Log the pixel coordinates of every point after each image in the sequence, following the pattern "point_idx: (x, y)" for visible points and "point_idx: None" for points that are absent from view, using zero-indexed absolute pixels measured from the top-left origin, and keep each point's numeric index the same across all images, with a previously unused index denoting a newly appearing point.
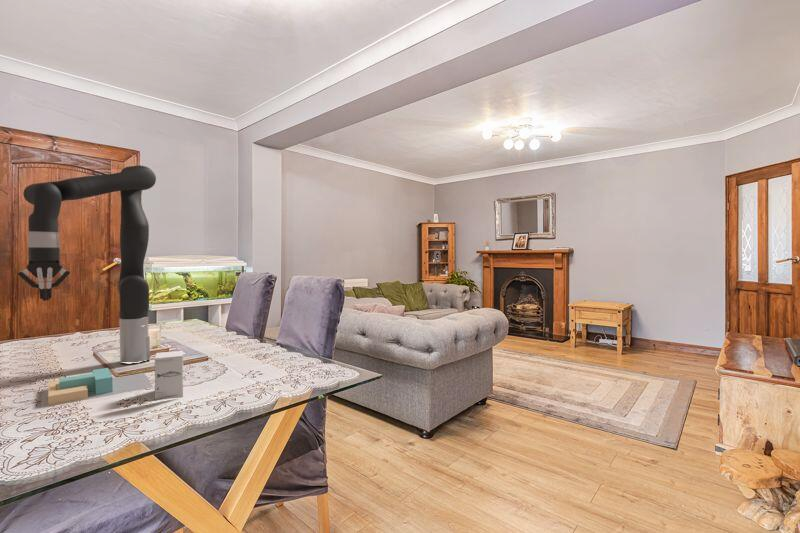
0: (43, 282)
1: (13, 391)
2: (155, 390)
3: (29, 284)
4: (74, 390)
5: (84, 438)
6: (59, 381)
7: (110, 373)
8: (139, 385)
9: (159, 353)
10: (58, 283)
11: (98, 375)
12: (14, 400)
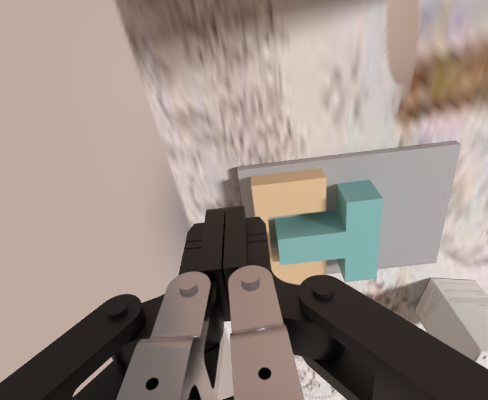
0: (216, 390)
1: (167, 116)
2: (424, 326)
3: (103, 384)
4: (304, 276)
5: (312, 376)
6: (280, 261)
7: (378, 252)
8: (417, 242)
9: (483, 361)
10: (347, 360)
11: (353, 255)
12: (192, 192)
